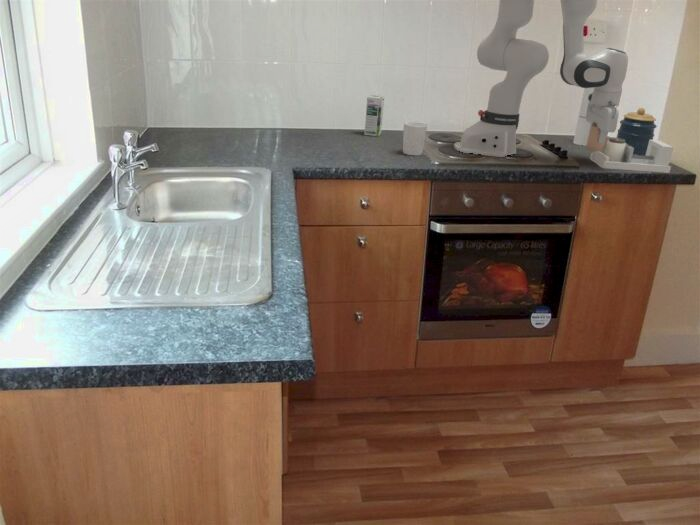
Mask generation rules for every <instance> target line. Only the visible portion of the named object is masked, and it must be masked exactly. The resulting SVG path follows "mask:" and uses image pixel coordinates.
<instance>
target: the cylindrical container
mask: <svg viewBox="0 0 700 525" xmlns="http://www.w3.org/2000/svg"><path fill="white" fill-rule="evenodd" d="M593 92H594V87H593V88H583V93H582V99H581V104H580V108H579V113H578V117H577V118H578V119H577V124H576V127H575V132H574V138H573V141H572V142H573V144H574V145H577V146H582V145H583V146H582V147H586V145H587V140H588V136H589V131H590V127H591V123H589V122H587V121H586V113H587V107H588V103H589V101H588V96H589V94H591V93H593Z"/></svg>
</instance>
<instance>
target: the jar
mask: <svg viewBox="0 0 700 525" xmlns="http://www.w3.org/2000/svg"><path fill="white" fill-rule="evenodd" d="M600 130H601V129H599V128H598V127H597V124H596V123H595V122H593V123H592V125H591V127H590V131H589V136H588V140H587V145H586V146H585V150H589V151H593V152H595V151H600V152H605V149H606V145H607V140H608V134H609V133H608V134H607V136H606V137H605V140H604V143H599V142H598V141H597V140H598V137H599V136H600Z"/></svg>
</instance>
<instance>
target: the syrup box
mask: <svg viewBox="0 0 700 525" xmlns="http://www.w3.org/2000/svg"><path fill="white" fill-rule="evenodd" d="M384 104H385V95H384V96H383V95H373V94H369V95H367V96H366V107H365V108H366V110H365V124H364V131H363V132H364V136H370V137H371V136H373V137H380V135H381V134H382V126H383V117H384V116H383V115H384Z"/></svg>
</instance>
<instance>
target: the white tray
mask: <svg viewBox="0 0 700 525" xmlns="http://www.w3.org/2000/svg"><path fill="white" fill-rule="evenodd" d="M673 150H674V146H671V145H669V143H665V142H663V141H661V140H660V139H659V140H658V139H653V140H649V143H648V147H647V151H646V155H650V156H654V159H653V160H648V159H634V158H632V159H631V163H623V162H610V161H609V157H608V156H606V155H605V153H603V151H594V152H591V153H590V156H589V160H590V161H592V162H594V163H595V164H596V165H598V166H599V167H600V168H601V169H609V170H623V171H634V172H651V173H663V174H664V173H665V174H670V172H671V168H672V166H671V165H669V164H670V162H671V157H672V153H673Z"/></svg>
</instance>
